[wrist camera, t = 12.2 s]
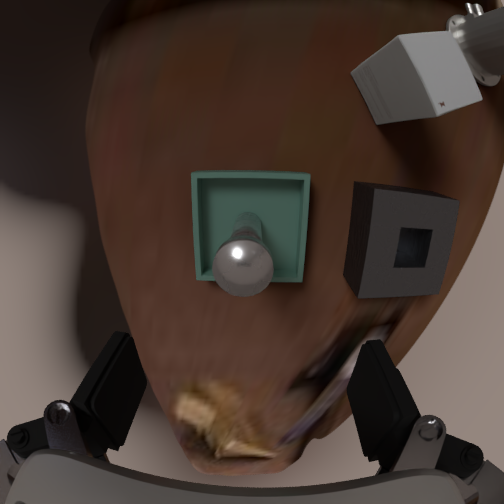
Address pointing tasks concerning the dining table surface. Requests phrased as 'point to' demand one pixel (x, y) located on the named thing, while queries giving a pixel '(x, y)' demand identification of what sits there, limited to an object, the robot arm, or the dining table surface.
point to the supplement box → (416, 78)
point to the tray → (260, 203)
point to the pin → (244, 259)
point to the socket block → (398, 240)
